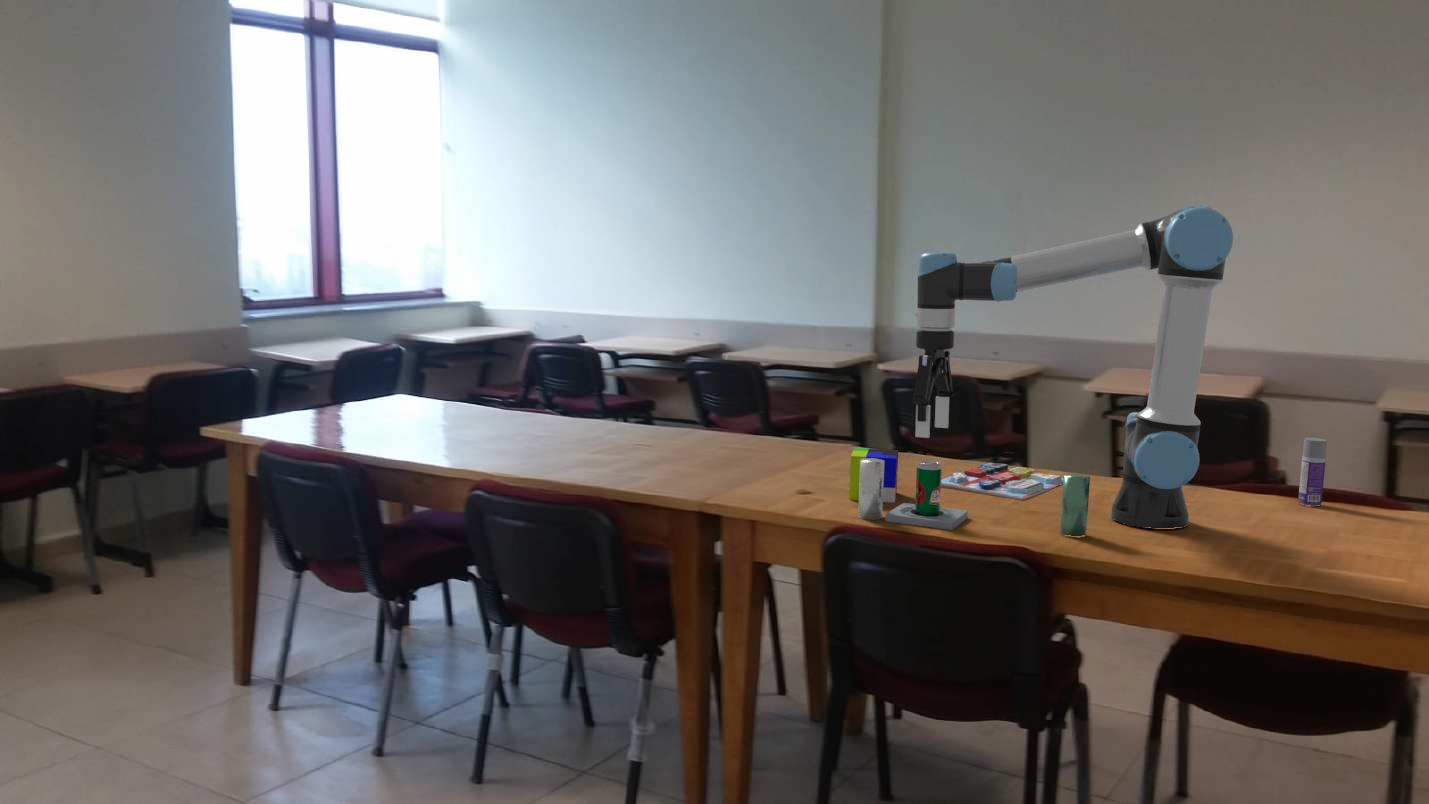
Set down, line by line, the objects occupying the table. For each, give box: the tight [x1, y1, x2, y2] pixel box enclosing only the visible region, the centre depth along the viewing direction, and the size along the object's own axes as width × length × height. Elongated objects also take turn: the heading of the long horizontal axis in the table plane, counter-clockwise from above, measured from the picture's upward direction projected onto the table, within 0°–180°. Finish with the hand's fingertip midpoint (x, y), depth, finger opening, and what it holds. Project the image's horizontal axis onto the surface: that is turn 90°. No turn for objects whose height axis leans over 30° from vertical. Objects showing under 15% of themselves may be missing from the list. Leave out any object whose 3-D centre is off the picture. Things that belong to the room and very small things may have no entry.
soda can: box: [914, 460, 943, 517], centre depth 237 cm, size 5×5×12 cm
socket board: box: [884, 502, 969, 531], centre depth 238 cm, size 14×12×2 cm
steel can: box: [857, 458, 884, 521], centre depth 238 cm, size 5×5×12 cm
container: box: [1297, 437, 1328, 506], centre depth 257 cm, size 5×5×15 cm
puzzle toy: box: [848, 447, 899, 504], centre depth 258 cm, size 10×10×10 cm
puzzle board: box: [941, 462, 1063, 501], centre depth 276 cm, size 30×23×3 cm
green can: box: [1059, 472, 1091, 536], centre depth 227 cm, size 5×5×12 cm
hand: (932, 432), depth 235 cm, fingers open, 13 cm apart
